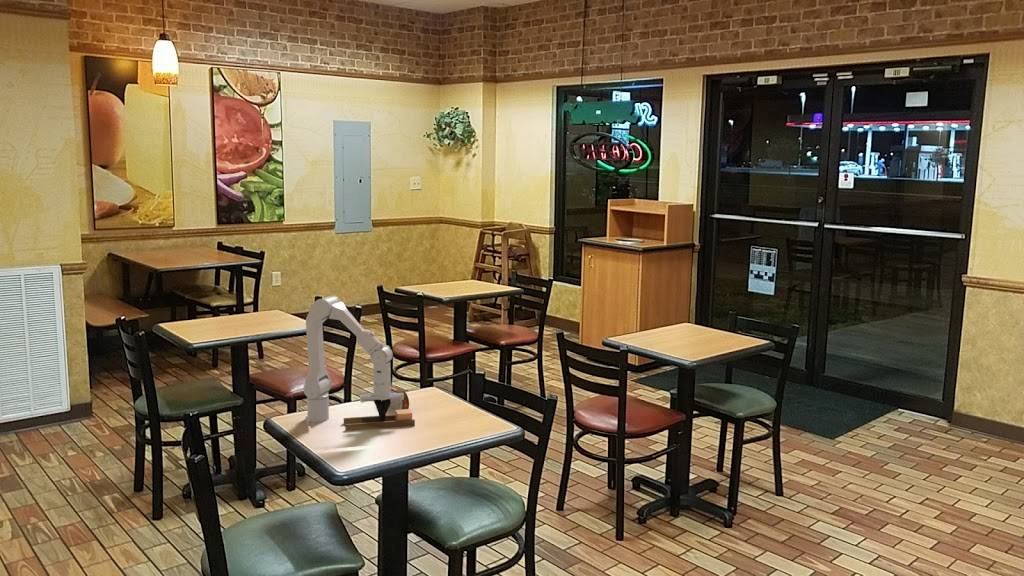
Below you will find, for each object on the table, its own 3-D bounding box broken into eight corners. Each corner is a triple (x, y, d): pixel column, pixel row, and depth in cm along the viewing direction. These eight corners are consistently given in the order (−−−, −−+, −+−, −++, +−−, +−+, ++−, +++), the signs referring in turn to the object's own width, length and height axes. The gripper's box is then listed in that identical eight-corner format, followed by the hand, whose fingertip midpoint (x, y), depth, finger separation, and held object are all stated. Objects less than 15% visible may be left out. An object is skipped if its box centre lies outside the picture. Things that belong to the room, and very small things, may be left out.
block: (395, 421, 281) (395, 409, 280) (409, 420, 282) (409, 409, 282) (397, 425, 276) (397, 414, 276) (412, 424, 278) (412, 413, 277)
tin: (410, 414, 293) (410, 391, 292) (402, 415, 291) (402, 392, 290) (388, 404, 305) (388, 382, 303) (381, 406, 303) (381, 384, 301)
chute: (343, 426, 277) (343, 418, 277) (410, 421, 284) (410, 413, 284) (345, 433, 270) (345, 425, 269) (414, 428, 276) (414, 420, 276)
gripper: (361, 386, 269) (361, 426, 271) (405, 383, 273) (405, 423, 275) (359, 381, 276) (359, 420, 278) (401, 378, 280) (401, 417, 282)
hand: (382, 421), depth 277 cm, fingers closed
